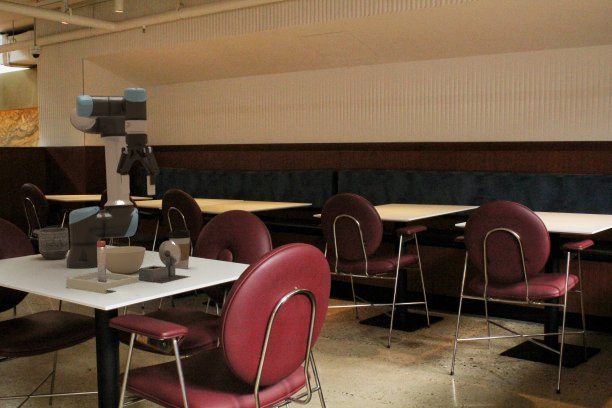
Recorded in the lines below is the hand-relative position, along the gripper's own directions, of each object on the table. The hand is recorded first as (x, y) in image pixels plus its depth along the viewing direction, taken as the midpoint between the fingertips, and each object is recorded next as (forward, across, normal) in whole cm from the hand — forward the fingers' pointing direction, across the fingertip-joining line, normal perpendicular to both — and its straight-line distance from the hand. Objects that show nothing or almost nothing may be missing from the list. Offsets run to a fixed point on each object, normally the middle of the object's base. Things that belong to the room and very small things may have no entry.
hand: (138, 194), depth 238 cm
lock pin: (+30, -3, -14) cm, 33 cm away
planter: (+31, -74, +14) cm, 82 cm away
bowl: (+31, -13, +2) cm, 34 cm away
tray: (+31, -3, -14) cm, 34 cm away
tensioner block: (+31, +7, +2) cm, 32 cm away
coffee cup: (+31, -7, +25) cm, 40 cm away
